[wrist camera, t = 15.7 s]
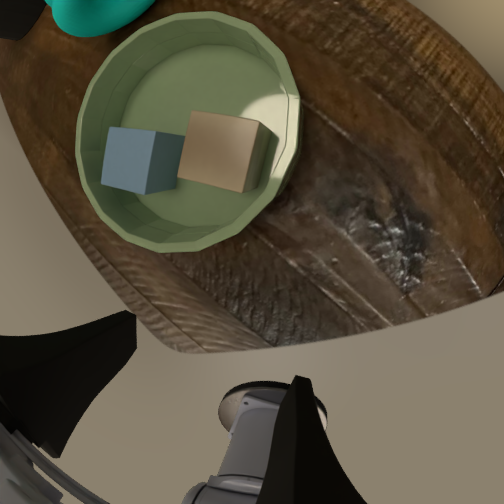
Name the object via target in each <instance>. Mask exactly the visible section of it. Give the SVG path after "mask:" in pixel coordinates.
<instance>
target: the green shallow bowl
mask: <svg viewBox="0 0 504 504" xmlns="http://www.w3.org/2000/svg"><path fill="white" fill-rule="evenodd" d="M192 110H196V111H204V112H211V113H218V114H224V115H231V116H236V117H242V118H247V119H252V120H257V121H260V122H261V123H263V124H264V125H265V126H266V127H268V128H269V129H270V130H271V131H272V134H271V137H270V141H269V145H268V149H267V153H266V157H265V161H264V165H263V169H262V173H261V177H260V181H259V185H258V188H256V189H253V190H250V191H247V192H245V193H238V192H234V191H230V190H226V189H222V188H218V187H214V186H210V185H206V184H202V183H198V182H194V181H190V180H186V179H182V178H178V177H177V181H176V186H175V189H171V190H166V191H161V192H157V193H152V194H148V195H142V194H138V193H134V192H130V191H127V190H123V189H119V188H115V187H111V186H107V185H103V184H101V178H102V170H103V162H104V156H105V149H106V143H107V138H108V132H109V127H122V128H133V129H142V130H151V131H159V132H165V133H171V134H177V135H182V136H186V131H187V127H188V123H189V119H190V115H191V111H192ZM303 126H304V112H303V107H302V103H301V98H300V95H299V92H298V89H297V86H296V84H295V81H294V78H293V75H292V73H291V70H290V67H289V65H288V62H287V59H286V57H285V55H284V53H283V52H282V51H281V50H280V49H279V48H278V47H277V46H276V45H275V44H274V43H273V42H272V41H271V40H270V39H269V38H268V37H267V36H266V35H264V34H263V33H262V32H261V31H260V30H259V29H258V28H257V27H256V26H255V25H253V24H251V23H248V22H246V21H243V20H240V19H237V18H234V17H232V16H229V15H226V14H222V13H219V12H214V11H213V12H189V13H177V14H173V15H171V16H168V17H166V18H163V19H161V20H158V21H156V22H153V23H151V24H149V25H146V26H144V27H142V28H140V29H139V30H137V31H136V32H135V33H133V34H132V35H131V36H130V37H128V38H127V39H126V40H125V41H124V42H122V43H121V44H120V45H119V46H118V47H116V48H115V49H114V50H113V51H112V52H111V53H110V54H109V56H108V57H107V58H106V60H105V61H104V62H103V64H102V65H101V67H100V68H99V70H98V71H97V73H96V74H95V76H94V77H93V79H92V80H91V82H90V84H89V86H88V89H87V91H86V94H85V97H84V100H83V103H82V106H81V109H80V112H79V115H78V119H77V129H76V145H75V156H76V161H77V166H78V170H79V175H80V179H81V183H82V187H83V190H84V191H85V193H86V195H87V197H88V199H89V200H90V202H91V204H92V206H93V207H94V209H95V211H96V213H97V214H98V216H99V217H100V219H101V220H103V221H104V222H105V223H106V224H107V225H108V226H109V227H110V228H112V229H113V230H114V231H115V232H116V233H117V234H118V235H120V236H121V237H122V238H123V239H124V240H126V241H128V242H131V243H133V244H136V245H139V246H142V247H144V248H147V249H150V250H152V251H155V252H159V253H168V252H195V251H200V250H202V249H205V248H207V247H209V246H211V245H213V244H216V243H218V242H220V241H222V240H225V239H227V238H229V237H231V236H234V235H236V234H238V233H239V232H241V231H242V230H243V229H244V228H245V227H246V226H248V225H249V224H250V223H251V222H252V221H253V220H254V219H256V218H257V217H258V216H259V215H260V214H261V213H262V212H263V211H264V210H265V209H266V208H267V207H268V206H269V205H270V204H271V203H272V202H273V201H274V200H275V199H276V198H277V197H278V196H279V195H280V194H281V193H282V192H283V191H284V190H285V188H286V186H287V184H288V181H289V180H290V178H291V176H292V174H293V172H294V170H295V167H296V165H297V162H298V160H299V158H300V156H301V153H302V141H303Z"/></svg>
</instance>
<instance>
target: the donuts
mask: <svg viewBox="0 0 504 504" xmlns="http://www.w3.org/2000/svg"><path fill="white" fill-rule="evenodd" d="M45 2H46V3H47V4H48V5H49V6H50V7H52V13H53V17H54V20H55V22H56V24H57V25H58V26H59V27H60V28H61V29H62V30H63V31H65V32H66V33H68V34H71V35H74V36H78V37H93V36H99V35H104V34H107V33H110V32H113V31H115V30H117V29H120V28H122V27H124V26H125V25H127V24H129V23H130V22H132V21H133V20H135V19H136V18H138V17H139V16H140V15H142V14H143V13H144V12H145V11H146V10H147V9H148V8H149V7H150V6H151V5H152V4H153V3H154V2H155V0H45Z"/></svg>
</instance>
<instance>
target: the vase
mask: <svg viewBox="0 0 504 504" xmlns="http://www.w3.org/2000/svg"><path fill="white" fill-rule="evenodd" d="M45 5H46V2H45V0H0V38H3V39H11V40H19V39H21V38H22V37H23V36H24V35H25V34H26V33H27V32H28V31H29V30H30V29H31V27H32V26H33V25H34V23H35V22H36V20H37V19H38V17H39V16H40V14H41V12H42V11H43V9H44V7H45Z"/></svg>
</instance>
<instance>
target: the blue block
mask: <svg viewBox="0 0 504 504" xmlns="http://www.w3.org/2000/svg"><path fill="white" fill-rule="evenodd" d="M184 140H185V136H182V135H177V134H171V133H165V132H159V131H151V130H142V129H133V128H122V127H109V132H108V138H107V143H106V149H105V156H104V162H103V170H102V178H101V184H103V185H107V186H111V187H115V188H119V189H123V190H127V191H130V192H134V193H138V194H142V195H148V194H152V193H157V192H161V191H166V190H171V189H175V186H176V181H177V174H178V169H179V163H180V159H181V154H182V149H183V144H184Z"/></svg>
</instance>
